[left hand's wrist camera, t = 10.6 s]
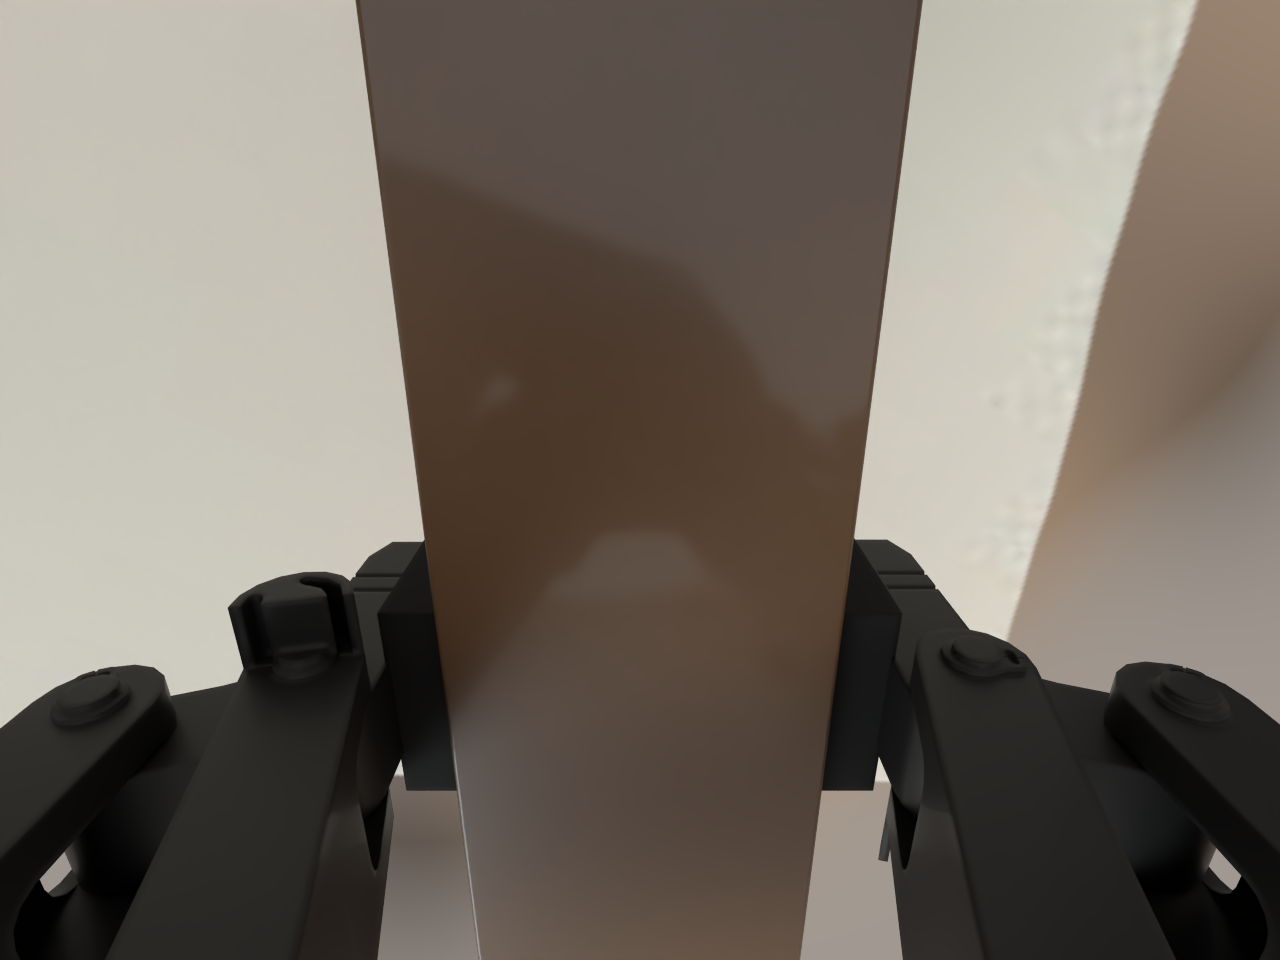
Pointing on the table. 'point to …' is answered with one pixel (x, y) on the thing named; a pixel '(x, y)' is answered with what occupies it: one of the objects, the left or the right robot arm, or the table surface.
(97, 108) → the table surface
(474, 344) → the beam
